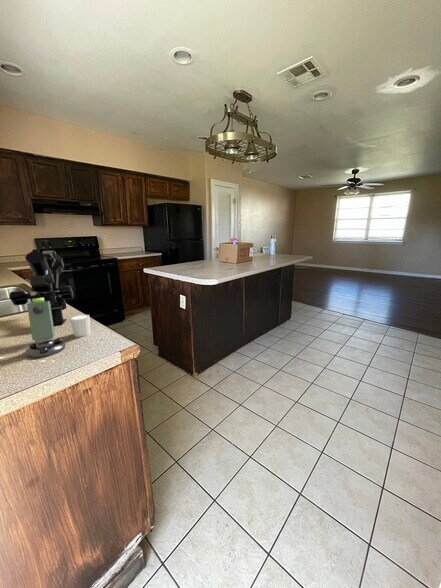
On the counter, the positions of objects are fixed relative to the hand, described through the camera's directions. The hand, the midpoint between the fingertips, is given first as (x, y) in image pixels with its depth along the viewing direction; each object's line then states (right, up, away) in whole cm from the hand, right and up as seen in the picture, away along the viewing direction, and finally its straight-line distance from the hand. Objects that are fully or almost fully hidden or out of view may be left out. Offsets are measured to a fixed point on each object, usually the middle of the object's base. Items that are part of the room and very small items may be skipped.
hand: (44, 314), depth 88 cm
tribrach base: (+4, -12, -4) cm, 13 cm away
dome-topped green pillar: (+4, -9, -5) cm, 11 cm away
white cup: (+9, -8, +9) cm, 15 cm away
